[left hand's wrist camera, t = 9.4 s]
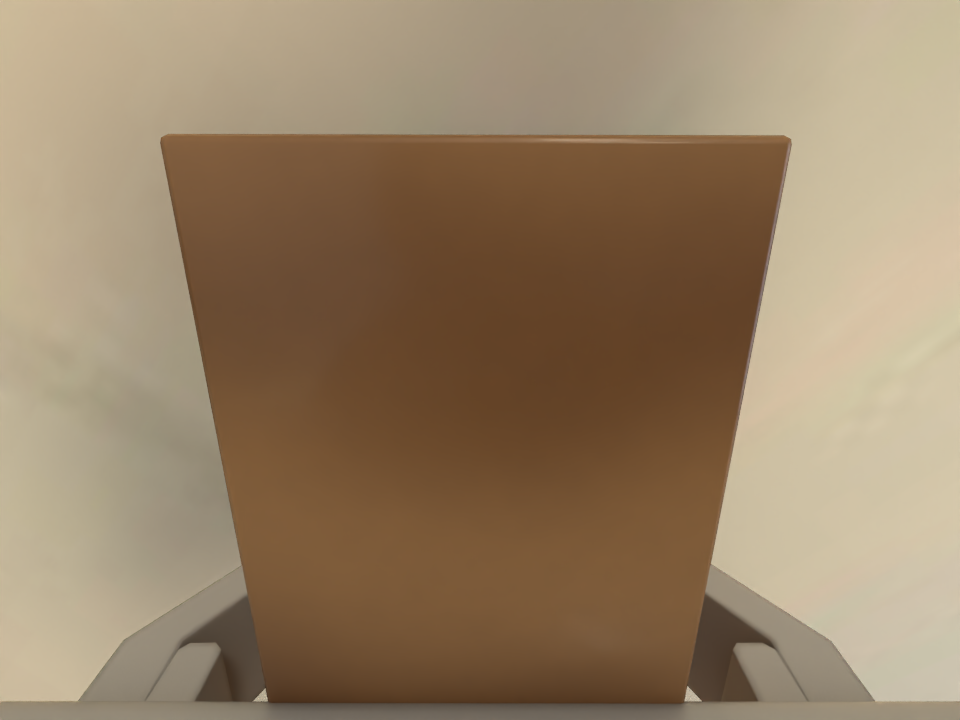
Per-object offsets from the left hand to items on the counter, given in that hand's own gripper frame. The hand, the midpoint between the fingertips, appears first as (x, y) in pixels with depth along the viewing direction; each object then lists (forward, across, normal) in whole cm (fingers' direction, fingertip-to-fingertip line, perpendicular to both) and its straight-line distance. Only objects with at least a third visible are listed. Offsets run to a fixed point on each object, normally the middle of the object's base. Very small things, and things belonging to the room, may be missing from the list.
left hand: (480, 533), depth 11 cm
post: (+3, 0, -26) cm, 27 cm away
